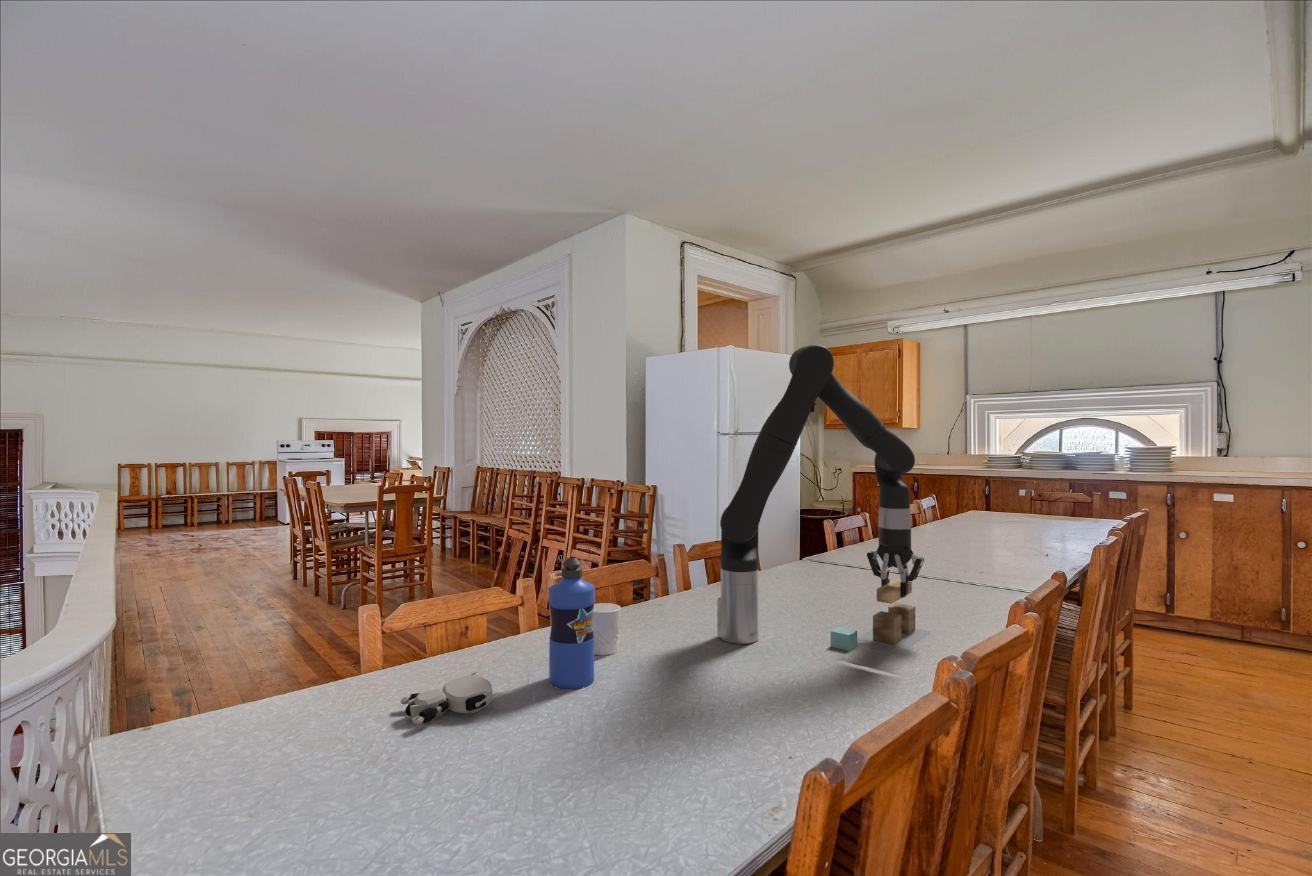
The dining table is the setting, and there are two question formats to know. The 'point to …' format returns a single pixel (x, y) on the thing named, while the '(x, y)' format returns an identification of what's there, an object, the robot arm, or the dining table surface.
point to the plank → (891, 592)
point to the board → (905, 640)
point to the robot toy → (450, 698)
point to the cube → (844, 638)
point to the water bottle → (571, 629)
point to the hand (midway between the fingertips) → (894, 595)
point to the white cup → (606, 628)
